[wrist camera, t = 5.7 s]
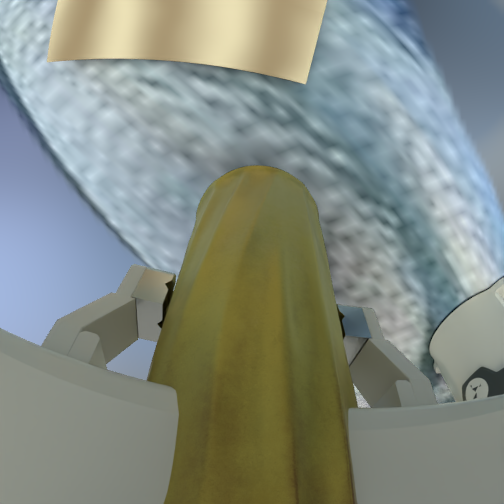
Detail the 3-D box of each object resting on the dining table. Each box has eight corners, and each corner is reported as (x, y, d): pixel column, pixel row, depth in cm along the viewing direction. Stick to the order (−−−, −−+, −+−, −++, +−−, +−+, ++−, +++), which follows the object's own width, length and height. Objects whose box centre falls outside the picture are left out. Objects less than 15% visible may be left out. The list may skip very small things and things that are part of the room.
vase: (342, 210, 15) (451, 531, 3) (271, 288, 18) (271, 559, 6) (239, 139, 13) (123, 574, 1) (177, 236, 16) (74, 526, 4)
